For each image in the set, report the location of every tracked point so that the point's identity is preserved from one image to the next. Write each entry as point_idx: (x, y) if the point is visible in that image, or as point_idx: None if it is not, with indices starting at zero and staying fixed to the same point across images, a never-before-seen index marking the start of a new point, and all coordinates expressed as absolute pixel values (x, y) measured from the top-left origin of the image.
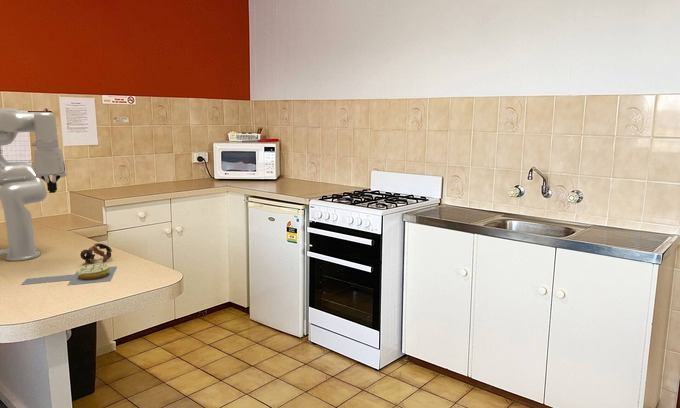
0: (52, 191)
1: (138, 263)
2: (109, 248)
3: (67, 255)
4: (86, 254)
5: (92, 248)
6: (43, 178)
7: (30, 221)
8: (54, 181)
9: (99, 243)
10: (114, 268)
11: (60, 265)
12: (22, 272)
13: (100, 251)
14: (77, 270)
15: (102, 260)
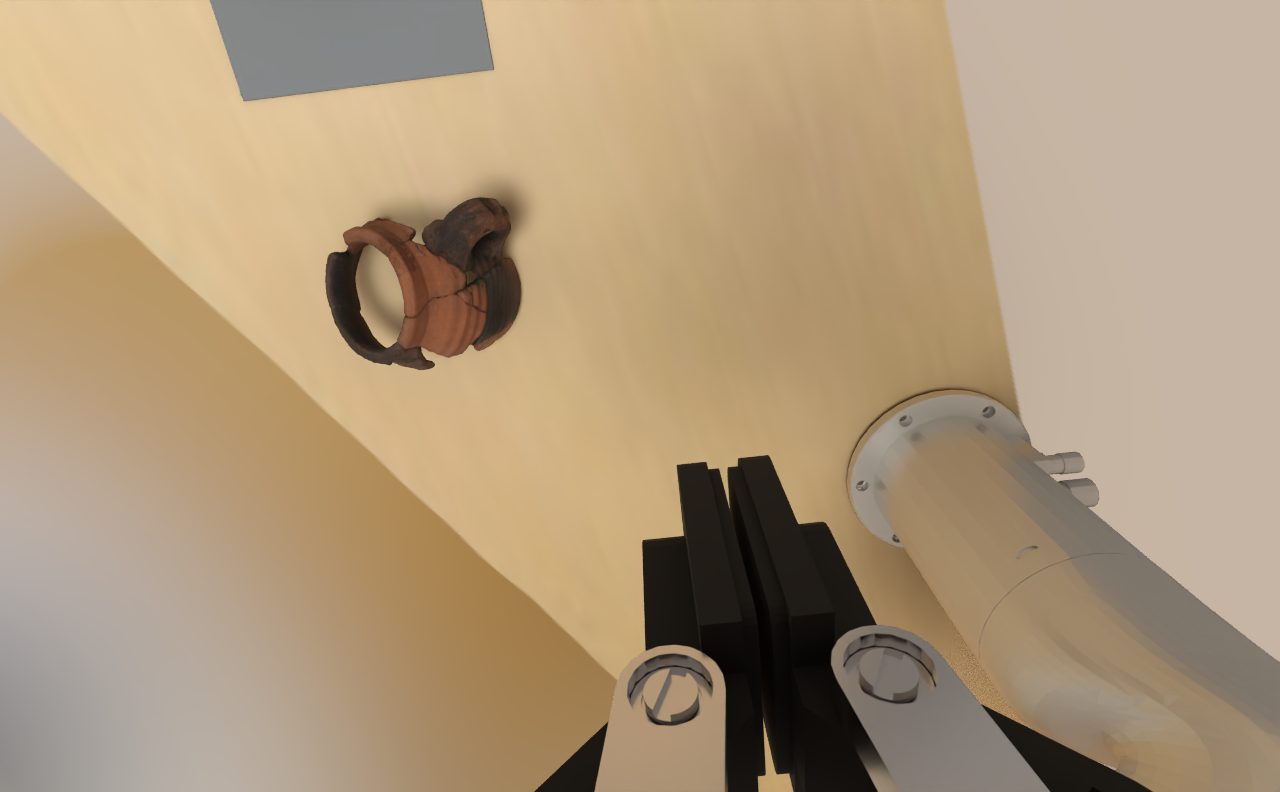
0: (707, 473)
1: (124, 152)
2: (345, 328)
3: (686, 453)
4: (485, 261)
5: (426, 266)
6: (1071, 787)
7: (980, 615)
8: (657, 681)
9: (401, 349)
10: (233, 38)
11: (656, 226)
12: (857, 101)
13: (361, 227)
14: (489, 49)
15: (380, 219)
